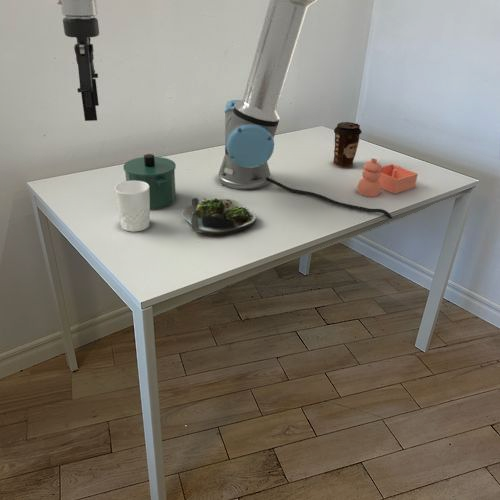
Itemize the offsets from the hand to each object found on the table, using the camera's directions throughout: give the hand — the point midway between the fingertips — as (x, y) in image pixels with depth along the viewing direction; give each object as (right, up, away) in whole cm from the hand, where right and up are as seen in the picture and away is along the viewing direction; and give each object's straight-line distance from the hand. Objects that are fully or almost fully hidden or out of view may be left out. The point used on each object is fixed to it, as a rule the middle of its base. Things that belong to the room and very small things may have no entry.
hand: (92, 112), depth 122 cm
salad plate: (+31, -27, +2) cm, 41 cm away
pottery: (+77, -16, +24) cm, 82 cm away
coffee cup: (+69, -6, +40) cm, 79 cm away
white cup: (+11, -28, -1) cm, 30 cm away
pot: (+12, -20, +12) cm, 26 cm away
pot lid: (+13, -12, +7) cm, 19 cm away
